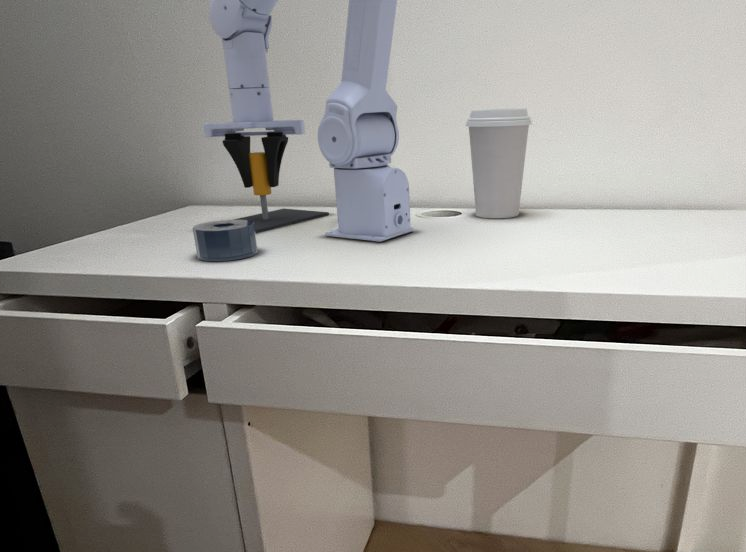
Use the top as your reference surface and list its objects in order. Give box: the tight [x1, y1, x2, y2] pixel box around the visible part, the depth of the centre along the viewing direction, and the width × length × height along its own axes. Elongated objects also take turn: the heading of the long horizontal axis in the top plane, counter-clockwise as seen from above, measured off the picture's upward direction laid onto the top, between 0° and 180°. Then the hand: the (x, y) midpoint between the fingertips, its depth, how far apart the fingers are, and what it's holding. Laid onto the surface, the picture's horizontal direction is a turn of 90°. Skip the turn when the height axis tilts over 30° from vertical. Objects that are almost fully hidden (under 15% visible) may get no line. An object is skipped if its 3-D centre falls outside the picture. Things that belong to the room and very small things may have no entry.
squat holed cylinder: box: [192, 219, 258, 262], centre depth 75 cm, size 7×7×4 cm
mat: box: [233, 208, 330, 234], centre depth 95 cm, size 10×18×1 cm, turn 147°
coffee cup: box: [465, 108, 533, 219], centre depth 92 cm, size 10×10×15 cm
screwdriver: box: [249, 151, 272, 220], centre depth 94 cm, size 3×3×10 cm
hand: (261, 186), depth 93 cm, fingers open, 3 cm apart
